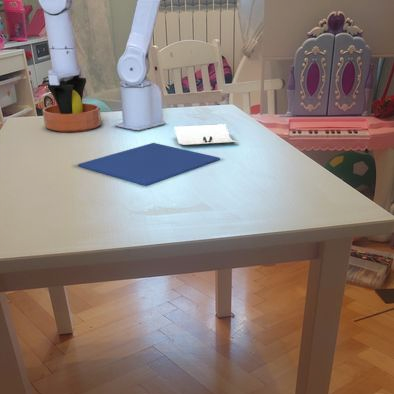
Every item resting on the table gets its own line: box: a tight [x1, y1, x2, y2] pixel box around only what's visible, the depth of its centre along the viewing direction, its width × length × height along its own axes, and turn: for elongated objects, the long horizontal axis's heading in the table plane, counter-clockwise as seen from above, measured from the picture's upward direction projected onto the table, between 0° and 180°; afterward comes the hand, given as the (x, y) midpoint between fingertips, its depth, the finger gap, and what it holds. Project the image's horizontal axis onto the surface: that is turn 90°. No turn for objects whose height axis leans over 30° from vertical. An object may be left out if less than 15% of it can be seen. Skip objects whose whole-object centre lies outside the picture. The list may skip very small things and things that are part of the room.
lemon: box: [72, 90, 83, 114], centre depth 116 cm, size 6×6×8 cm
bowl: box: [42, 102, 102, 133], centre depth 117 cm, size 13×13×4 cm
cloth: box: [77, 142, 221, 187], centre depth 93 cm, size 20×18×1 cm
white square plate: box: [173, 123, 240, 146], centre depth 106 cm, size 12×12×2 cm
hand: (72, 114), depth 117 cm, fingers closed on lemon, 5 cm apart
